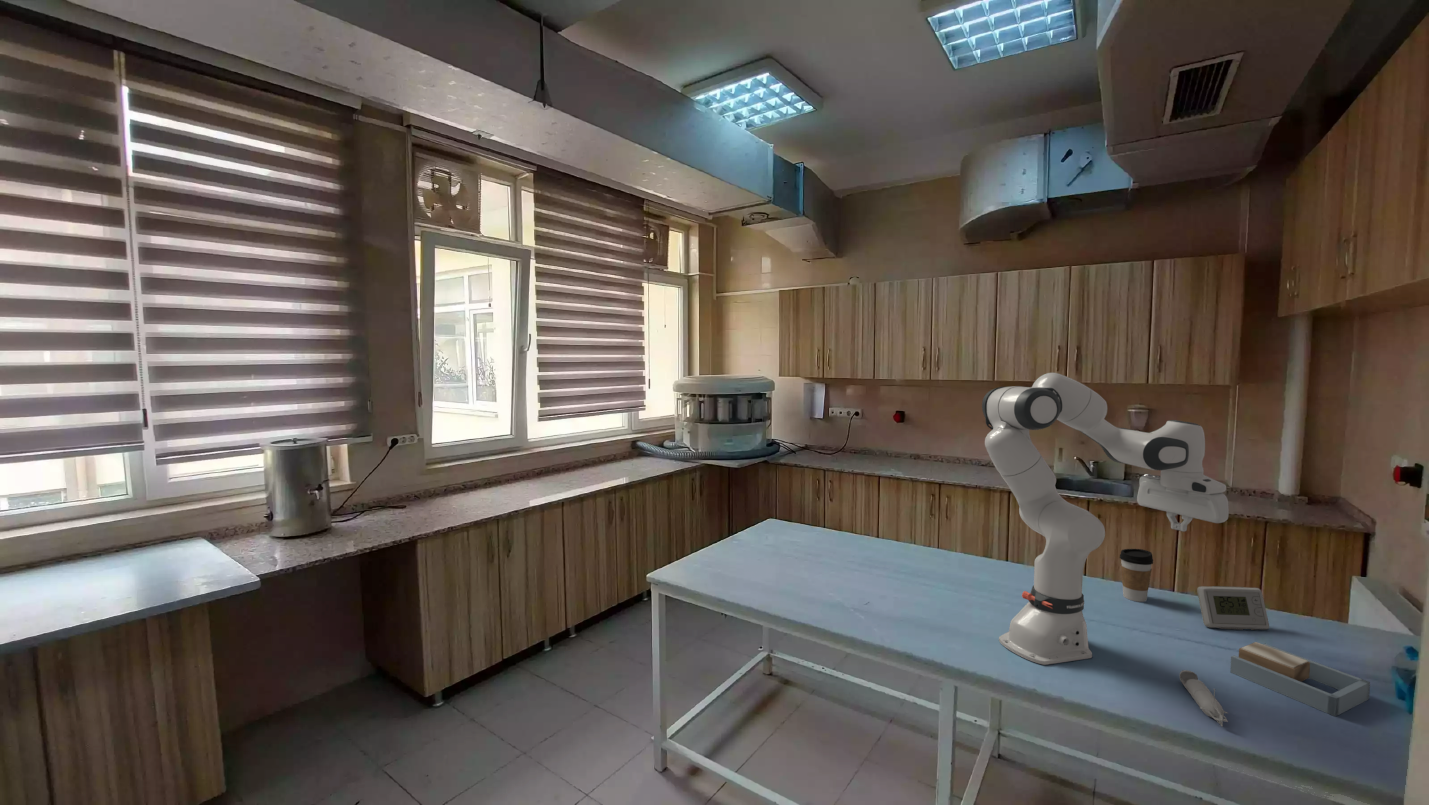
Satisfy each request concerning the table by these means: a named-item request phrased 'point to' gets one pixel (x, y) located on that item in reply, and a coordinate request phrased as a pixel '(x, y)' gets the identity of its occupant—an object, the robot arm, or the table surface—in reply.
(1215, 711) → the torpedo
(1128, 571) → the coffee cup
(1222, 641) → the table surface
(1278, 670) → the tan block
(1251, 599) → the digital clock
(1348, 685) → the bay
